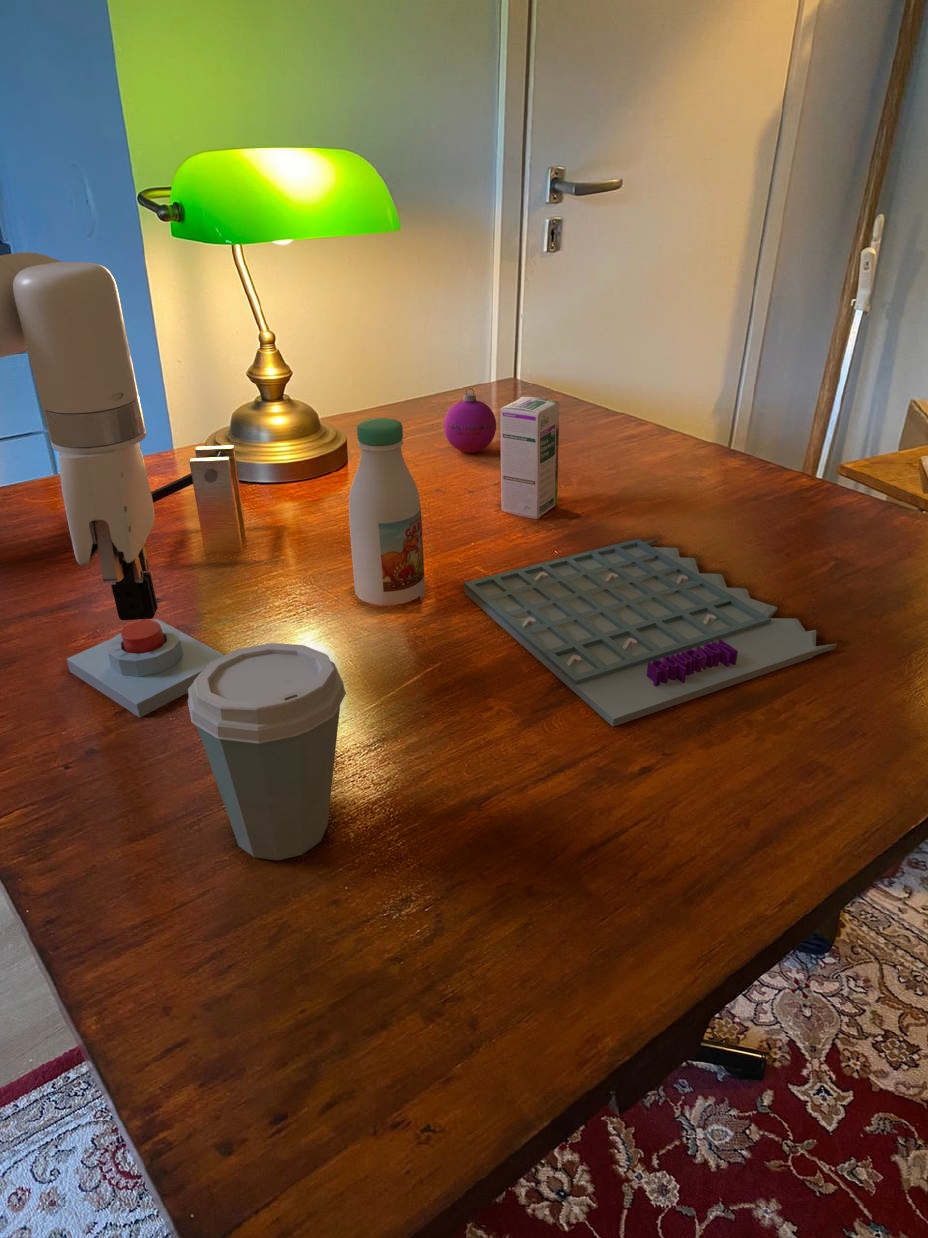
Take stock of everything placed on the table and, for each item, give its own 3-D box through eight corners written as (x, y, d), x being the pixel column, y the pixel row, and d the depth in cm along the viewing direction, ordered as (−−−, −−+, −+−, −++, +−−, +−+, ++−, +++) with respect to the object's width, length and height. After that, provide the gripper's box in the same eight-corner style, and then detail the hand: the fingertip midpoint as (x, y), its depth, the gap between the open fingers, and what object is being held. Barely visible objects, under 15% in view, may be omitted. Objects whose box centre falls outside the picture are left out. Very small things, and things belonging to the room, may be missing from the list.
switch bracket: (170, 573, 107) (150, 470, 101) (185, 538, 116) (167, 441, 110) (272, 568, 108) (259, 465, 102) (280, 533, 117) (268, 437, 110)
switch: (136, 522, 106) (124, 505, 105) (146, 505, 111) (134, 489, 110) (227, 479, 105) (216, 461, 104) (232, 464, 109) (222, 446, 108)
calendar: (659, 543, 113) (661, 525, 112) (838, 649, 91) (842, 627, 89) (463, 593, 102) (463, 574, 101) (611, 727, 80) (612, 704, 79)
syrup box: (538, 520, 119) (541, 412, 112) (499, 511, 122) (499, 405, 115) (557, 505, 123) (561, 400, 116) (519, 497, 126) (521, 394, 119)
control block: (71, 677, 88) (61, 642, 86) (160, 636, 95) (153, 602, 93) (141, 724, 81) (132, 687, 79) (232, 676, 88) (226, 640, 86)
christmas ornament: (444, 460, 139) (442, 395, 135) (444, 442, 147) (443, 381, 142) (497, 459, 139) (497, 395, 135) (495, 442, 147) (495, 380, 142)
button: (117, 646, 86) (113, 630, 85) (150, 631, 88) (146, 615, 87) (138, 659, 84) (135, 643, 83) (171, 643, 86) (168, 627, 85)
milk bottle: (357, 618, 97) (342, 438, 87) (353, 585, 104) (339, 414, 94) (429, 611, 98) (422, 432, 88) (420, 579, 105) (413, 409, 95)
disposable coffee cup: (193, 824, 70) (158, 659, 62) (318, 771, 75) (300, 613, 68) (249, 910, 62) (216, 735, 55) (384, 845, 68) (371, 677, 60)
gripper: (75, 399, 82) (117, 581, 91) (19, 455, 69) (75, 660, 78) (160, 395, 82) (193, 576, 91) (120, 450, 69) (164, 655, 78)
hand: (139, 615), depth 84 cm, fingers closed
